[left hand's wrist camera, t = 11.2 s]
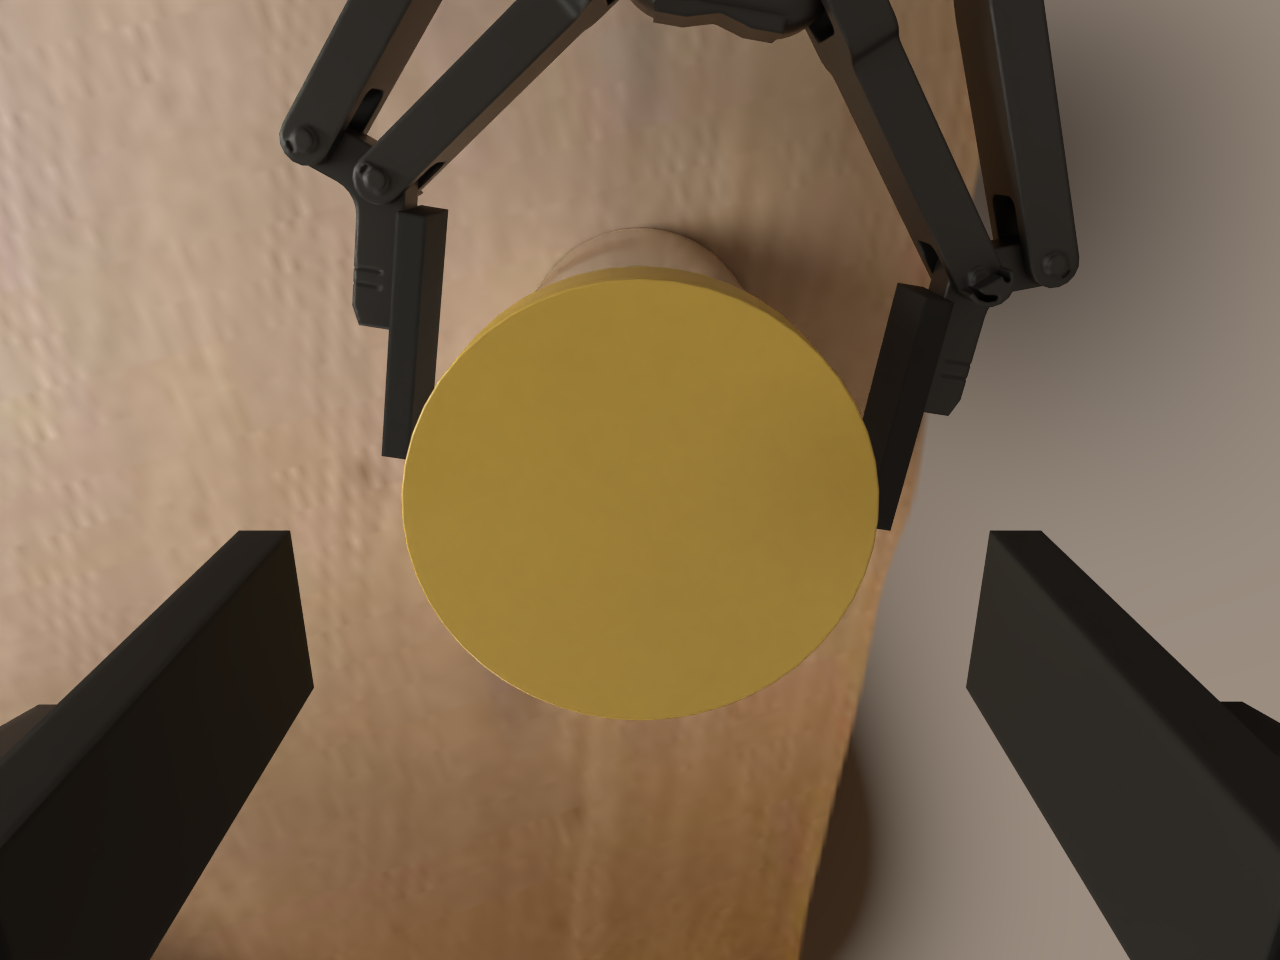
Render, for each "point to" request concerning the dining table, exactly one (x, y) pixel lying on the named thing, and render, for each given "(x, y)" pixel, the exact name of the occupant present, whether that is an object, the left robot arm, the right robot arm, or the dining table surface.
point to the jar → (640, 255)
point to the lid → (640, 495)
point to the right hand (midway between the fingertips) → (639, 478)
